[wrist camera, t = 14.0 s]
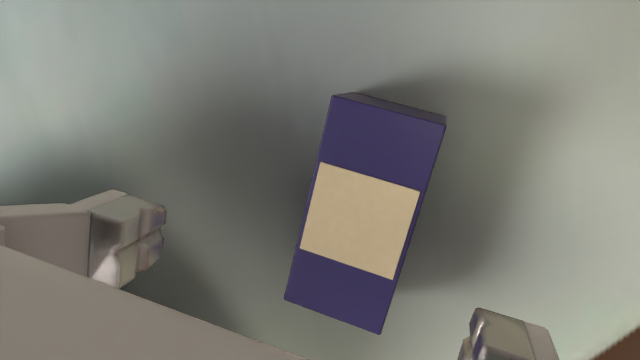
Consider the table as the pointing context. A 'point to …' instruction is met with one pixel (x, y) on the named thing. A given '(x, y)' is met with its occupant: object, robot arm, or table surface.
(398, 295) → the table surface
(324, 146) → the purple box
